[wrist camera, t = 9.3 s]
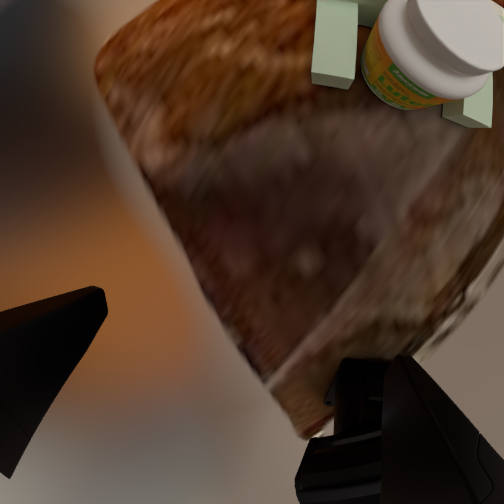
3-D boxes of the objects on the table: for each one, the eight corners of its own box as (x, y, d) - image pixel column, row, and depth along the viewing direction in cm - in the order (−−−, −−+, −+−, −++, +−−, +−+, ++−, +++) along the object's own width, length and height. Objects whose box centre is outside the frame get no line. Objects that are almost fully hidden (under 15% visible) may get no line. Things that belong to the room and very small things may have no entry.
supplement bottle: (355, 98, 14) (395, 53, 5) (361, 27, 12) (389, -58, 3) (433, 121, 13) (526, 116, 5) (437, 51, 11) (513, 2, 2)
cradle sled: (468, 128, 12) (515, 129, 8) (311, 83, 14) (309, 58, 9) (469, 41, 10) (508, 20, 5) (318, -5, 11) (316, -50, 6)
